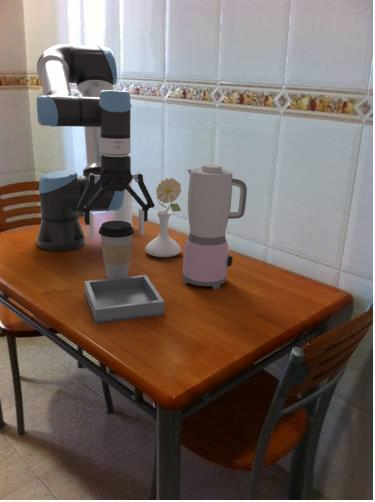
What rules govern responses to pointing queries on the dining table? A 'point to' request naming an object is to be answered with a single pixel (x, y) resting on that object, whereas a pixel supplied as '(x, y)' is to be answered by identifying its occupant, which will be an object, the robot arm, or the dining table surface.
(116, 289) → the tray
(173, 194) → the flower in vase
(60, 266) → the dining table surface
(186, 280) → the blender
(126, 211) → the water bottle
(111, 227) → the coffee cup
